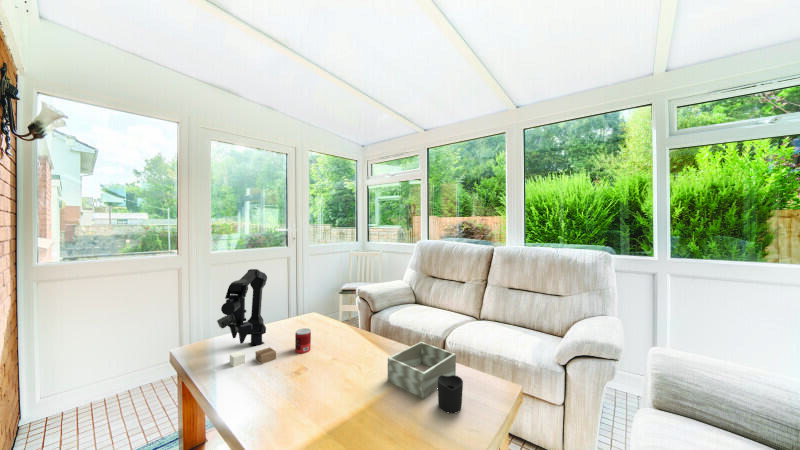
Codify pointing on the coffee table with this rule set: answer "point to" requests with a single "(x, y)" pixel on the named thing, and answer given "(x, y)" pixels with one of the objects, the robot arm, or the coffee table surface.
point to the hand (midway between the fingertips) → (237, 340)
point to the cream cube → (237, 358)
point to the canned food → (303, 341)
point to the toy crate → (414, 378)
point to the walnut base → (265, 355)
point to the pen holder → (450, 393)
